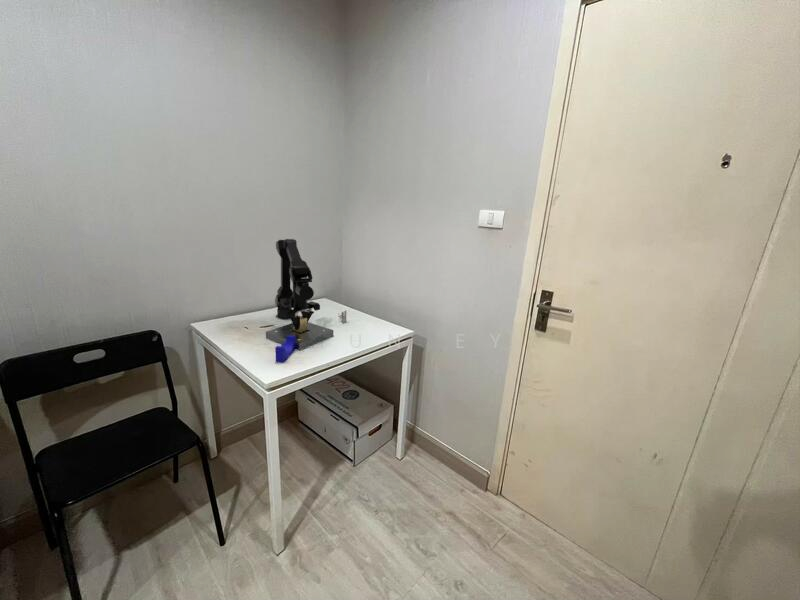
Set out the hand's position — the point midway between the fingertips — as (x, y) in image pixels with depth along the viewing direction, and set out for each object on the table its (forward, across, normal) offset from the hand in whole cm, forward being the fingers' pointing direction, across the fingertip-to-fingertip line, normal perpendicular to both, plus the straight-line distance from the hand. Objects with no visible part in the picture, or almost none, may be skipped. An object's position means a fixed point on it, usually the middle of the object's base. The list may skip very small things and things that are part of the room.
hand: (300, 328), depth 143 cm
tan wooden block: (+2, 0, 0) cm, 2 cm away
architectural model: (+5, -22, -2) cm, 23 cm away
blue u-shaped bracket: (+4, +16, +9) cm, 19 cm away
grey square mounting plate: (+4, 0, 0) cm, 4 cm away
